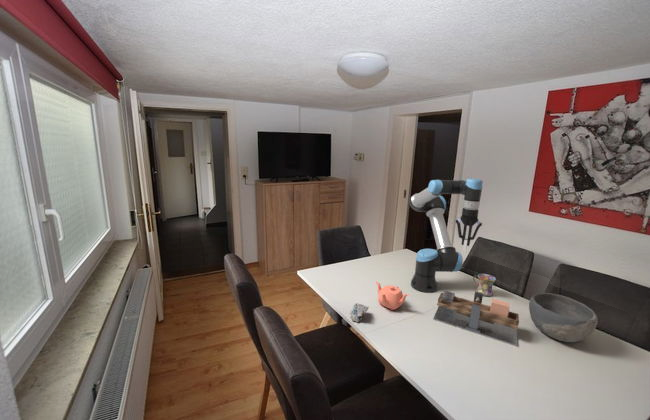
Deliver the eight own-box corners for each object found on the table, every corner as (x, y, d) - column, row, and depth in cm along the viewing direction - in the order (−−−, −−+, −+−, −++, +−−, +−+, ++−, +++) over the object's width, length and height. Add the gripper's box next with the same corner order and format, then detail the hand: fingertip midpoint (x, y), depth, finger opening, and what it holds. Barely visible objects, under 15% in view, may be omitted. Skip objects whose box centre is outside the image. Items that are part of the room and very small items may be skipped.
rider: (489, 315, 133) (491, 302, 132) (489, 311, 137) (492, 298, 136) (506, 320, 130) (509, 307, 128) (506, 316, 134) (509, 302, 132)
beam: (436, 309, 142) (437, 297, 141) (440, 299, 153) (442, 287, 151) (516, 335, 125) (519, 321, 123) (516, 321, 135) (518, 308, 134)
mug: (495, 294, 168) (498, 277, 166) (489, 299, 162) (492, 282, 160) (474, 286, 177) (477, 270, 175) (468, 291, 171) (470, 274, 169)
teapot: (407, 313, 146) (409, 293, 144) (380, 312, 146) (381, 293, 143) (399, 298, 160) (401, 280, 158) (374, 298, 160) (375, 280, 157)
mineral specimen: (353, 324, 143) (370, 326, 137) (344, 319, 139) (362, 321, 132) (356, 305, 148) (373, 306, 142) (348, 299, 144) (366, 301, 137)
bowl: (575, 359, 117) (583, 326, 113) (514, 326, 138) (519, 298, 135) (602, 342, 128) (610, 312, 125) (541, 314, 149) (546, 287, 146)
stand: (433, 319, 141) (436, 296, 138) (440, 303, 156) (442, 282, 153) (517, 346, 123) (522, 320, 120) (516, 325, 138) (520, 301, 135)
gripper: (456, 207, 149) (450, 250, 155) (484, 211, 143) (477, 255, 148) (458, 205, 156) (452, 246, 161) (485, 208, 149) (478, 251, 154)
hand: (464, 250), depth 154 cm, fingers closed
